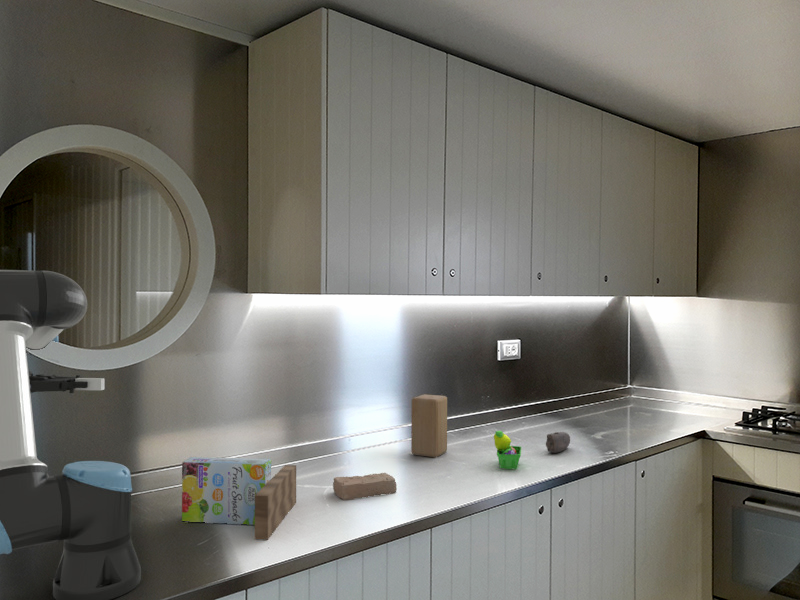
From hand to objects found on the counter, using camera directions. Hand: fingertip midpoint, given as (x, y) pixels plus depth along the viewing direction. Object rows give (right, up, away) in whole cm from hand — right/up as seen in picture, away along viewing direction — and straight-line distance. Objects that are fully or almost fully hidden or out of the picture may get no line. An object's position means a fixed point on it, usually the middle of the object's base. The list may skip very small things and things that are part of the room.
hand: (102, 384), depth 151 cm
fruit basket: (+106, -34, +55) cm, 125 cm away
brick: (+61, -34, +26) cm, 75 cm away
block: (+82, -34, +71) cm, 113 cm away
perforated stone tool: (+128, -34, +75) cm, 152 cm away
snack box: (+29, -34, +4) cm, 45 cm away
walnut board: (+41, -34, +5) cm, 53 cm away
